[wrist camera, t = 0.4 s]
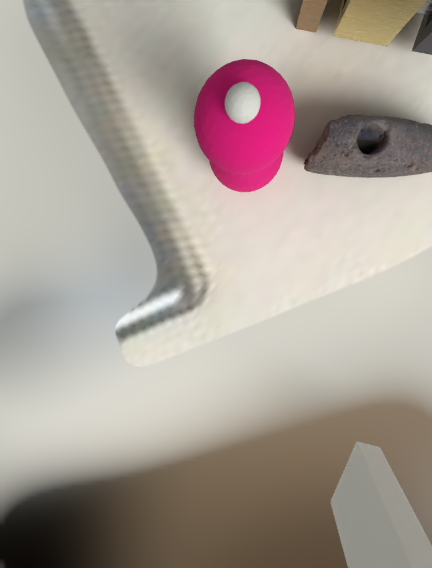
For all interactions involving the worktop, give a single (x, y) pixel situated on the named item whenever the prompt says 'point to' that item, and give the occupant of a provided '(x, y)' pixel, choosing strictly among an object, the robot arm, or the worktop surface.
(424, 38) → the ring
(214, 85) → the pepper mill
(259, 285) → the worktop surface
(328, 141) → the perforated stone tool
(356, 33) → the sleeve
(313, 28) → the bar clamp
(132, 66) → the worktop surface
